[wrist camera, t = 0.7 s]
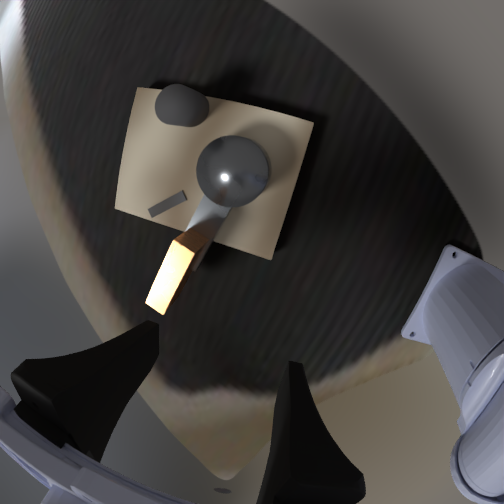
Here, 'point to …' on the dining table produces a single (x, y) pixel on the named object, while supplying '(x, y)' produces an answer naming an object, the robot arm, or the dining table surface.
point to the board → (185, 161)
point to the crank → (211, 209)
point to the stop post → (181, 106)
